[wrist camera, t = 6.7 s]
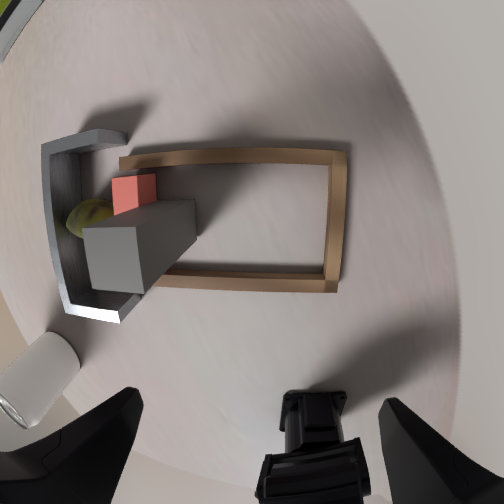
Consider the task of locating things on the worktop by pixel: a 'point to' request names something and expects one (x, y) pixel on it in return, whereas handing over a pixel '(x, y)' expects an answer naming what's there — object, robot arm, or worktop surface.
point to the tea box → (14, 21)
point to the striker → (138, 236)
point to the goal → (63, 240)
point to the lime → (88, 214)
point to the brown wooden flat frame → (259, 279)
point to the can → (37, 379)
